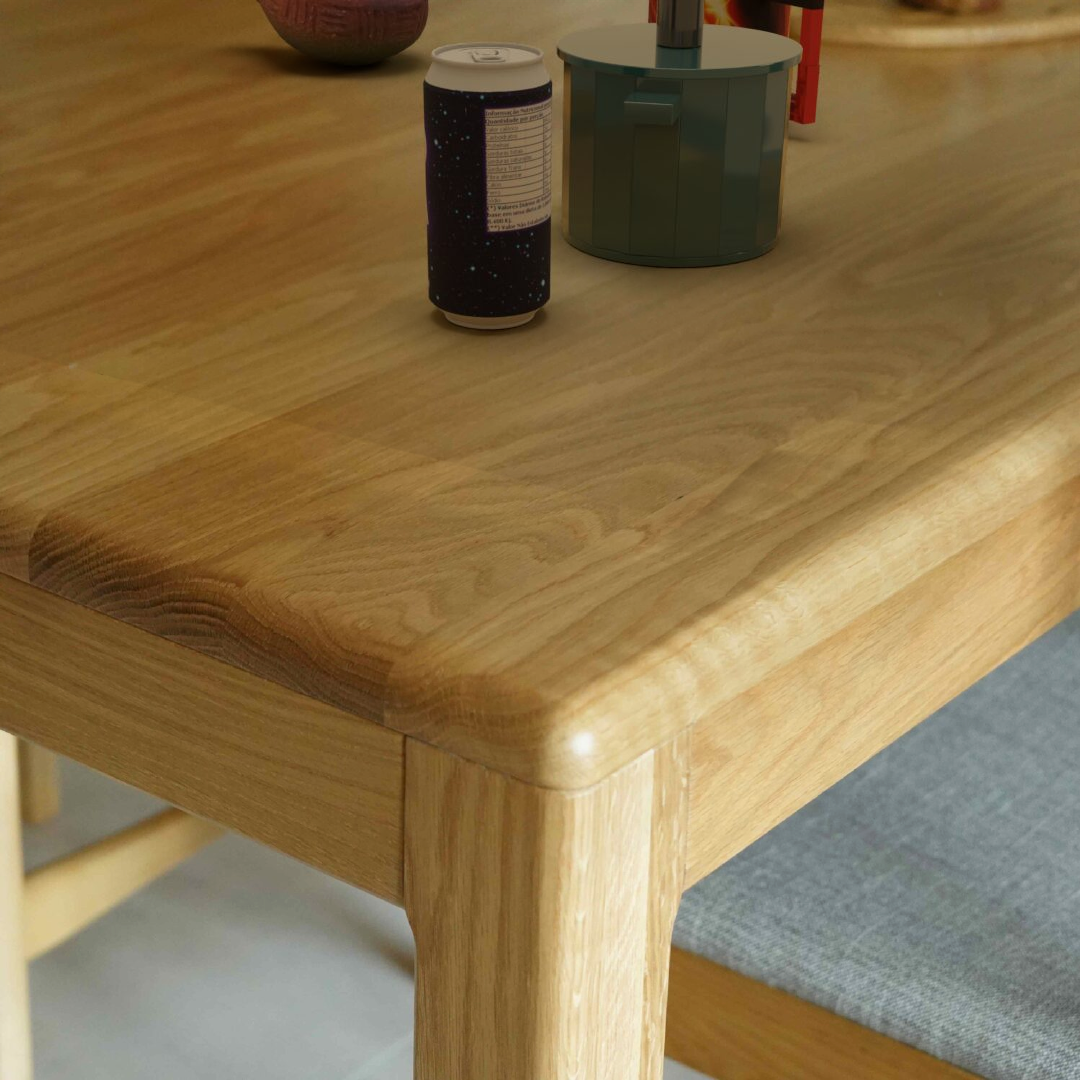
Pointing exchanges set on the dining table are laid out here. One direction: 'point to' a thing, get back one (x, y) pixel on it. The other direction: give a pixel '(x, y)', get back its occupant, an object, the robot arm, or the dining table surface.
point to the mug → (768, 8)
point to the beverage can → (488, 182)
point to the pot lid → (679, 47)
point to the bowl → (348, 27)
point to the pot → (673, 166)
